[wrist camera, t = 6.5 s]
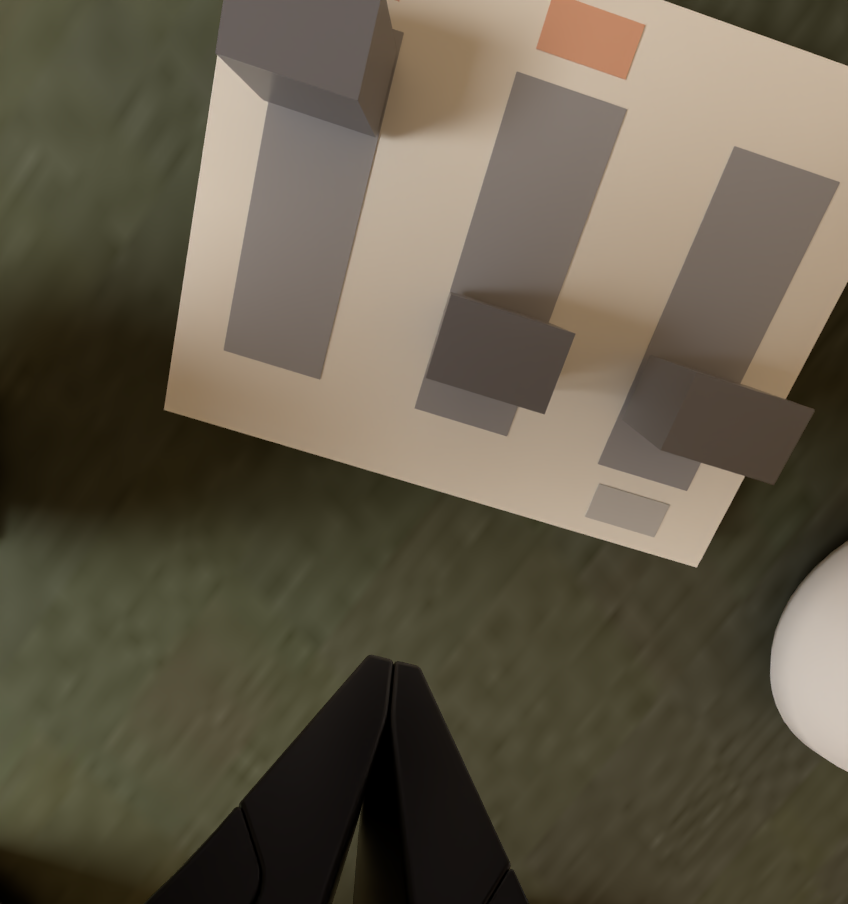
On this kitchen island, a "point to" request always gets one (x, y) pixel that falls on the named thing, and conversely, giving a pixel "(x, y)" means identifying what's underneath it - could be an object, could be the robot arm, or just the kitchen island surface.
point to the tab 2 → (498, 353)
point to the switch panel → (522, 251)
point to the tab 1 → (313, 56)
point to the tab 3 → (715, 420)
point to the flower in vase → (815, 659)
